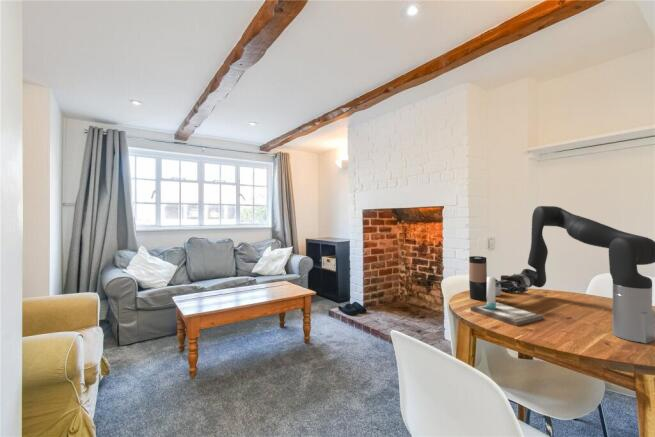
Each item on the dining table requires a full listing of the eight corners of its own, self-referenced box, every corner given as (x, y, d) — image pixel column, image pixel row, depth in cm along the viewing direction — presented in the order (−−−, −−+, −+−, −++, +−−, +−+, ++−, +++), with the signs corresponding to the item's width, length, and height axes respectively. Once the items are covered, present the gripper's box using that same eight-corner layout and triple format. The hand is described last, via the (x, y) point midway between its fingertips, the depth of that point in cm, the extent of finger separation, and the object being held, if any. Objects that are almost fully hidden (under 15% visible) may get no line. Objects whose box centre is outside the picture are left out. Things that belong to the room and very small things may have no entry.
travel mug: (488, 298, 147) (488, 257, 147) (484, 301, 142) (483, 259, 141) (472, 295, 153) (472, 255, 152) (467, 298, 147) (466, 257, 147)
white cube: (500, 295, 152) (500, 283, 152) (492, 296, 150) (492, 284, 150) (490, 292, 158) (490, 280, 158) (481, 293, 156) (481, 282, 156)
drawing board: (543, 319, 118) (543, 314, 118) (516, 326, 112) (516, 321, 112) (496, 305, 136) (496, 301, 136) (470, 310, 130) (470, 306, 130)
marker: (497, 308, 126) (497, 277, 125) (492, 310, 124) (491, 278, 124) (490, 306, 129) (490, 276, 128) (484, 307, 127) (484, 277, 127)
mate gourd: (499, 289, 164) (499, 270, 164) (516, 290, 160) (516, 272, 159) (497, 291, 158) (497, 272, 158) (514, 294, 154) (514, 274, 154)
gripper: (501, 272, 145) (483, 276, 136) (534, 277, 134) (517, 282, 124) (501, 287, 145) (483, 293, 136) (534, 294, 134) (517, 300, 124)
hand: (499, 288), depth 130 cm, fingers open, 8 cm apart
